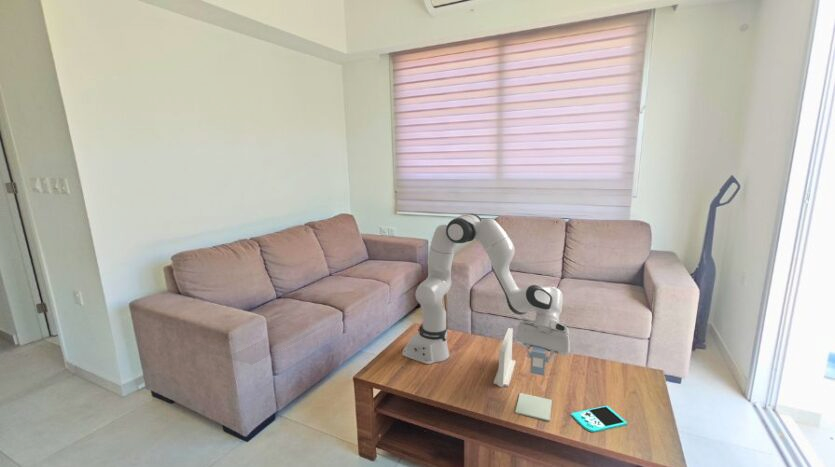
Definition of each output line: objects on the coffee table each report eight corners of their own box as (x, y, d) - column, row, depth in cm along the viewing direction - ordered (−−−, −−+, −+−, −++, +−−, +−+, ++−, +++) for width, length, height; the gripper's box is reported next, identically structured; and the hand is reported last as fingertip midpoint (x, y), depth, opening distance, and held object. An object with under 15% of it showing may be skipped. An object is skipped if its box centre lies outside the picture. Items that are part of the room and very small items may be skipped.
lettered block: (530, 373, 142) (531, 351, 141) (531, 366, 147) (532, 345, 145) (544, 376, 141) (545, 354, 139) (544, 368, 145) (546, 347, 144)
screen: (493, 385, 155) (494, 349, 152) (502, 358, 175) (504, 327, 172) (507, 388, 153) (509, 352, 150) (515, 361, 173) (517, 329, 169)
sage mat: (515, 413, 138) (515, 411, 138) (519, 394, 149) (519, 392, 149) (549, 421, 134) (549, 420, 134) (551, 401, 145) (551, 399, 145)
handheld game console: (570, 415, 138) (570, 412, 137) (606, 407, 142) (607, 404, 141) (589, 434, 128) (589, 431, 128) (627, 425, 132) (628, 422, 132)
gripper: (518, 317, 152) (509, 349, 146) (572, 328, 141) (565, 364, 135) (521, 323, 156) (512, 355, 150) (573, 335, 146) (566, 369, 140)
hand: (537, 359), depth 142 cm, fingers closed on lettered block, 5 cm apart
